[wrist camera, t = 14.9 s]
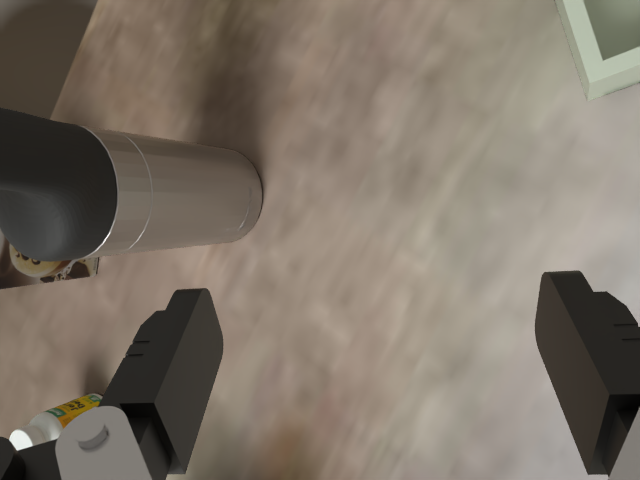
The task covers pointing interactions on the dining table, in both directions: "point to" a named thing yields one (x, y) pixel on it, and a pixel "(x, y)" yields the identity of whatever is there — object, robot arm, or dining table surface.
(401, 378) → the dining table surface
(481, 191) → the dining table surface
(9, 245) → the coffee box
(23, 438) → the supplement bottle
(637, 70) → the open box
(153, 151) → the robot arm
